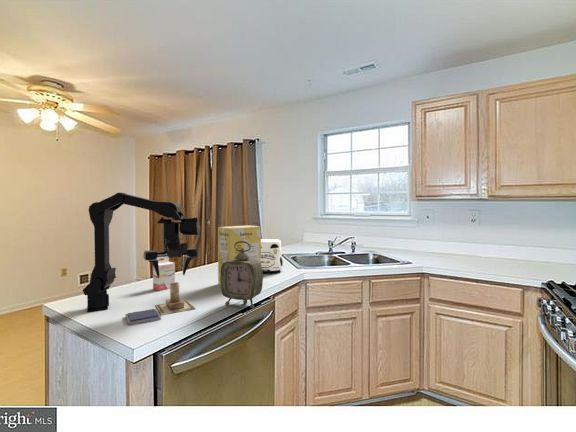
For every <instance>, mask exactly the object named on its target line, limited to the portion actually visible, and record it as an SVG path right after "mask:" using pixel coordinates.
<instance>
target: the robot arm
mask: <svg viewBox="0 0 576 432" xmlns="http://www.w3.org/2000/svg"><path fill="white" fill-rule="evenodd" d="M123 205H126V206H131V207H136V208H140V209H143V210H149V211H152V212H154V213H156V214H158V215H160V216H162V217H160V218H159V220H157V222H156V224H162V251H156V249H153V250H152V249H151V250H150V249H149V250H144V251H143V260H144V261H148V262H149V263H151V265H152V267H153V266H154V269H155V272H156V274H157V277H158V278H159V268H158V260H157V257H166V256H168V257H169V259H173V258H182V275H183V276H185V274H186V271H187V269H188V266H189V264H190V262H191V260H194V259H195V257H199V252H198V249H196V248H194V247H188V243H187V242H185V243H184V242H183V243H181V241H180V234H182V235H183V236H199V235H200V232H201V226H200V221H199V217H186V216H185V214H184V213H183V212H182V211H181V206H180V204H179V203H177V202H175V201H174V202H172V201H160V200H159V201H157V200H152V199H148V198H144V197H141V196H140V197H139V196H136V195H132V194H127V193H126V192H116V193H115V194H112V195H111V196H108V197H107V198H105V199H103V200H100V201H95V202H93V203H91V204H90V205H88V214H89V219H90V221H91V223H92V225H93V234H94V235H93V236H94V238H93V239H94V240H93V241H94V267H93V269H92V271H91V274H90V278H89V279H90V280H89V283H88V284H87V285H86V286H85V287H84V288H83V289H82V292H83V293H82V294H83V295H84V296H87V297H86V299H87V301H86V303H87V304H86V305H87V307H86V313H87V312H89V313H90V312H96V311H103V310H108V307H109V306H110V295H109V293H108V291H107V290H109V289H110V287H111V285H112V284H113V283H114V282H115V279H116V278H117V275H116V269H117V268H116V267H112V265H111V263H110V224H111V223H112V220H113V215H114V212H115V211H116V210H119V208H120V207H122V206H123Z"/></svg>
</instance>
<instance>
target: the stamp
mask: <svg viewBox="0 0 576 432" xmlns="http://www.w3.org/2000/svg"><path fill="white" fill-rule="evenodd" d="M169 289H170V294H169V297H170V298H169V299H165V303H166V306H167V307H168V308H169V310H176V309H182V308H184V302H183V301H184V300H183V299H181V298H180V282H177V281H175V282H174V283H170V288H169Z"/></svg>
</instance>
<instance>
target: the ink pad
mask: <svg viewBox="0 0 576 432" xmlns="http://www.w3.org/2000/svg"><path fill="white" fill-rule="evenodd" d="M161 316H162V315H161V314H160V312H159V310H158V309H157V308H153V309H147V310H146V309H145V310H140V311H134V312H133V311H132V312H128V313H125V320H126V324H127V325H128V326H133V325H138V324H144V323H150V322H154V321H161V320H162V317H161Z"/></svg>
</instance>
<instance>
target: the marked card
mask: <svg viewBox="0 0 576 432" xmlns="http://www.w3.org/2000/svg"><path fill="white" fill-rule="evenodd" d="M182 301H183V302H184V308H182V309H176V310H169V308H168V307H167V306H166V302H165V303H160V304H159V303H158V304H155V307H156V310H157V311H158V313H159V314H160V316H163V315H170V314H175V313H181V312H187V311H192V310H196V306H194V305H193V304H192V303H191V302H190V301H189V300H187V299H185V300H182Z"/></svg>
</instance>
